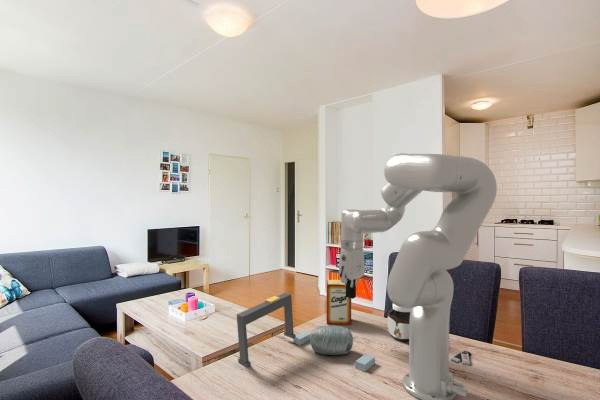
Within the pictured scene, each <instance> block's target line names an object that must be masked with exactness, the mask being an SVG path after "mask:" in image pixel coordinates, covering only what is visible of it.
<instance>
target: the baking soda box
mask: <svg viewBox="0 0 600 400" xmlns="http://www.w3.org/2000/svg"><path fill="white" fill-rule="evenodd" d="M325 305H326V309H325V311H326V314H325V315H326V317H325V318H326V325H335V326H341V325H343V326H345V325H346V326H351V325H352V298H348V297H346V286H345V283H341V279H326V304H325Z"/></svg>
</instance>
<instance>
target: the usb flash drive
mask: <svg viewBox="0 0 600 400" xmlns="http://www.w3.org/2000/svg"><path fill="white" fill-rule="evenodd" d="M470 356H472V353H471V352H470V351H468V350H462V351H461V352H459V353H458V354H455V355H454V356H453V357H452V358H450V361H454V362H456V363H457V364H458V363H459V361H460V362H461V365H462V364H463V366H467V365H468V367H471V361H470Z"/></svg>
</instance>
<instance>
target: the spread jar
mask: <svg viewBox="0 0 600 400" xmlns="http://www.w3.org/2000/svg"><path fill="white" fill-rule="evenodd" d="M410 312H411V308H410V309H405V308H400V307H398V306H396V305H395V304H394V303H393V302H392V309H390V311H389V312H388V314H387V331H388V334H389V335H390V337H391V338H392V339H394V341H397V342H401V343H409V323H410Z"/></svg>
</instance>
